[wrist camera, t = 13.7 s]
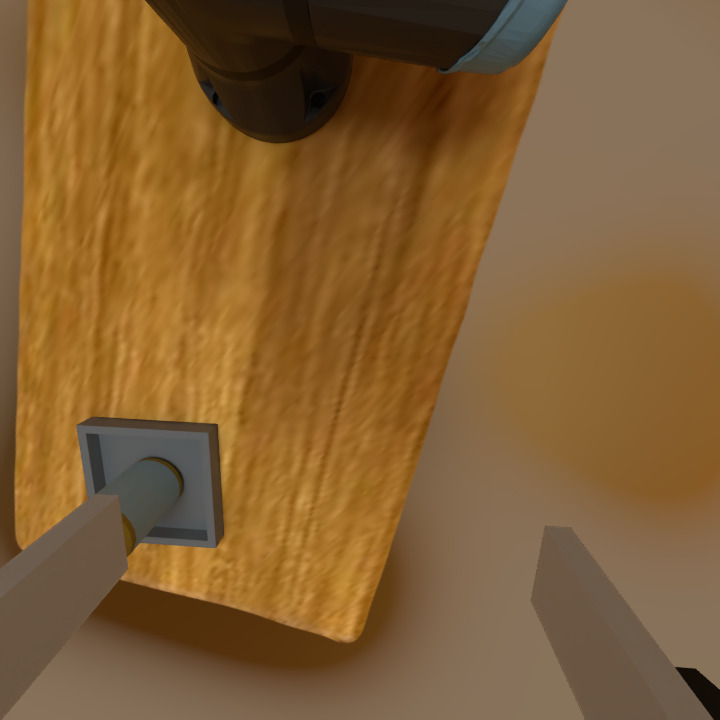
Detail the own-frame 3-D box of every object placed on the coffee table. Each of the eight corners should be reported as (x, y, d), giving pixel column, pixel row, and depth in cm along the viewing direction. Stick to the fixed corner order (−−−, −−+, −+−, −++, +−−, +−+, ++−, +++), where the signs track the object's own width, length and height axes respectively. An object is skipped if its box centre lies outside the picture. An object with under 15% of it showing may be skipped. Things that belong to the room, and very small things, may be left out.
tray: (92, 416, 46) (76, 425, 44) (217, 424, 45) (208, 432, 43) (108, 526, 50) (94, 539, 48) (224, 534, 49) (215, 548, 47)
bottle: (133, 501, 48) (27, 602, 34) (129, 453, 46) (15, 537, 32) (186, 506, 48) (101, 609, 33) (183, 457, 46) (92, 544, 32)
